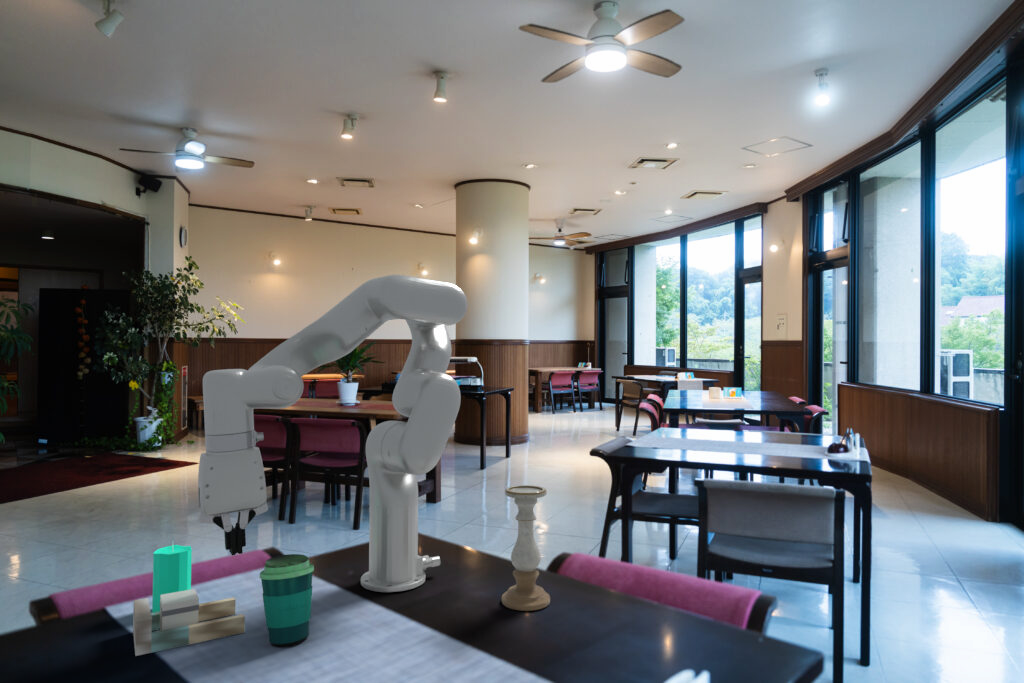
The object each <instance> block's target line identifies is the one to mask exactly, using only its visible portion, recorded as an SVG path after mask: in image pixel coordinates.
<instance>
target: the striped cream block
mask: <svg viewBox="0 0 1024 683" xmlns="http://www.w3.org/2000/svg"><path fill="white" fill-rule="evenodd" d="M199 601H200V598H199V595H198V592H197V590H196V588H191V590H185V591H180V592H174V593H168V594H162V595H160V630H159V631H162V630H167V629H172V628H177V627H182V626H187V625H192V624H197V623H199V622H198V610H199V604H200V603H199Z"/></svg>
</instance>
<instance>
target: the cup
mask: <svg viewBox="0 0 1024 683" xmlns="http://www.w3.org/2000/svg"><path fill="white" fill-rule="evenodd" d="M263 567H264V568H263V570H261V571H260V572H259V579H261V585H262V602H263V608H264V617H265V625H266V628H267V635H268V642H269V643H270V645H271V646H273V647H276V648H288V647H289V648H290V647H294V646H297V645H300V644H303V643H304V641H306V640H307V639H308V636H309V631H310V620H311V617H312V616H311V615H312V613H311V612H312V601H313V600H312V598H313V584H312V583H313V572H314V571H315V566H314V564H312V563H310V559H309V557H308V556H307V555H304V554H298V553H295V554H282V555H277V556H273V557H270V558H269V559H267V560H266V561H265V563H264V566H263Z"/></svg>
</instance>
